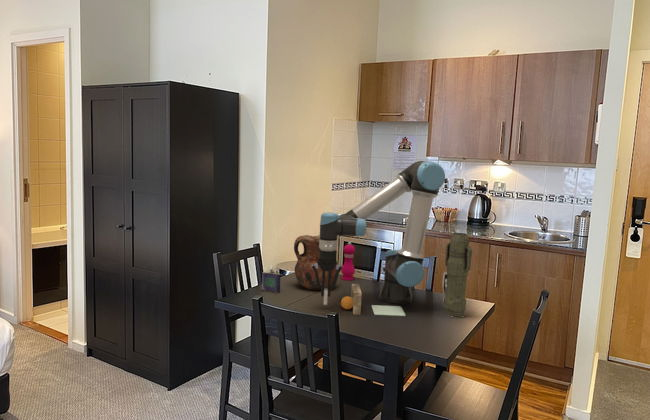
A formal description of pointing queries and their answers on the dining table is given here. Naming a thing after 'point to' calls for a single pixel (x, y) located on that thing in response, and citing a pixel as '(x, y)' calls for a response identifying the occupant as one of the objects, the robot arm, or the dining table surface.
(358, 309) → the bridge
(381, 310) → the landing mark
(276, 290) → the flask
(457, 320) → the dining table surface
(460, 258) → the olive brown statue
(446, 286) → the beer glass
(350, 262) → the pepper mill
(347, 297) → the ball
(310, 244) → the jug
